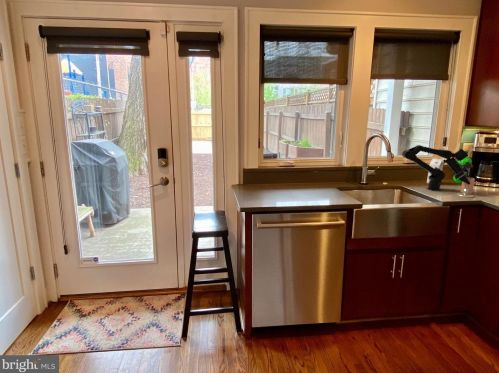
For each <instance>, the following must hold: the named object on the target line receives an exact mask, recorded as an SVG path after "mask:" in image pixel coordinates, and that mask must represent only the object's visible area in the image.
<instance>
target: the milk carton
mask: <svg viewBox="0 0 499 373" xmlns="http://www.w3.org/2000/svg"><path fill="white" fill-rule="evenodd" d="M428 165H429V166H431V167H433V168H434V169H435V167H437V168H439V169H440V170H441V171H443V168H444V164H443V158H441V159H440V158H432V159H431V161H430V163H429V164H428ZM427 172H428V171H427ZM430 175H431V174H430V173H429V172H428V173H427V178H426V179H427V180H426V183H427V184H429V176H430Z"/></svg>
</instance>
